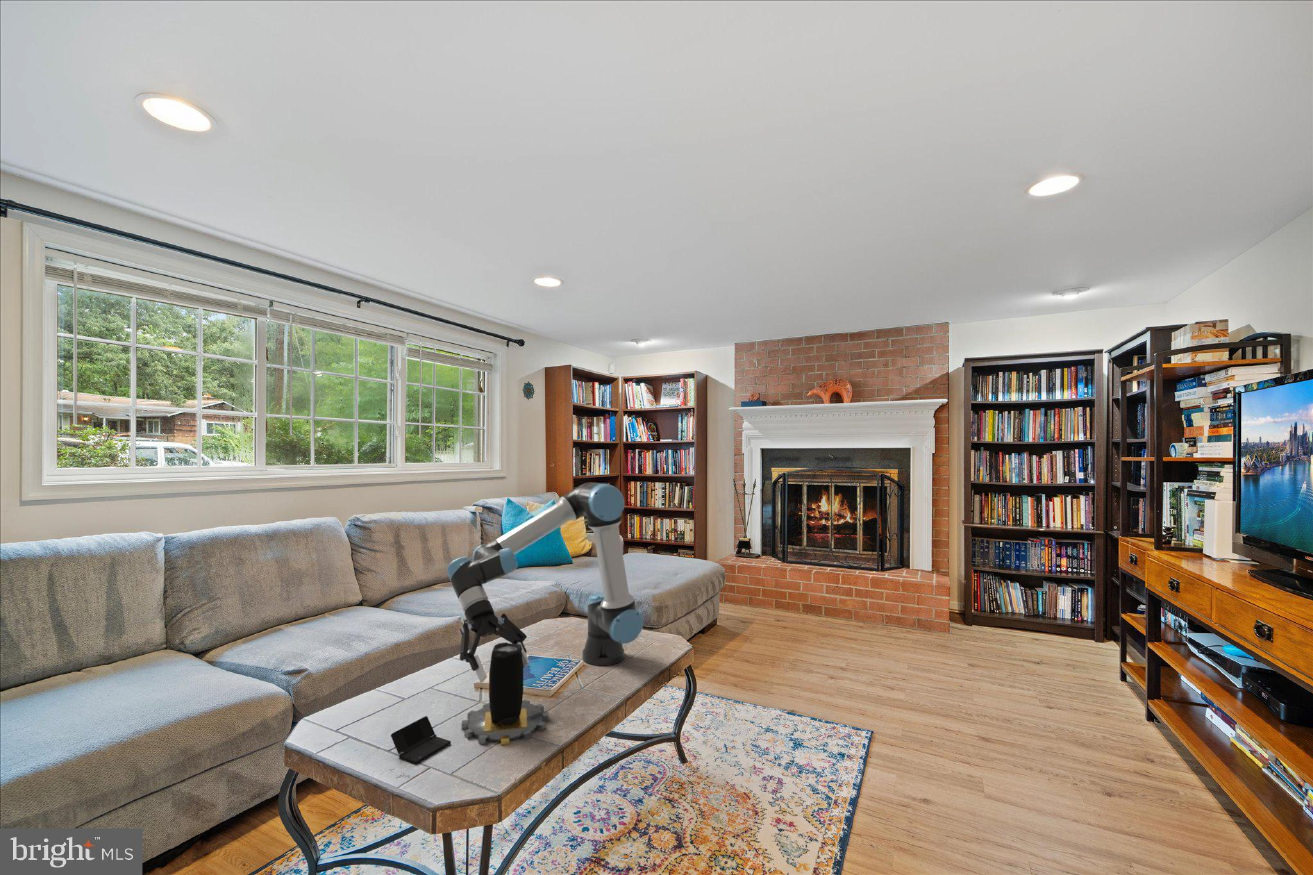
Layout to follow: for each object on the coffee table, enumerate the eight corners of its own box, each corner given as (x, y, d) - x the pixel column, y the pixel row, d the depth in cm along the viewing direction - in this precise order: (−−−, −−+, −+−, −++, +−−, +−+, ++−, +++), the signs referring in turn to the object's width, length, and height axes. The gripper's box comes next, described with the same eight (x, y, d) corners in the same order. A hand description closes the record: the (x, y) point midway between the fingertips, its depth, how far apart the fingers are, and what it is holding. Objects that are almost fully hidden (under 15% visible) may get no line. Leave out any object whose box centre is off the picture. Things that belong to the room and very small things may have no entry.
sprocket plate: (465, 708, 165) (465, 702, 165) (546, 701, 170) (546, 695, 170) (457, 749, 142) (457, 742, 142) (550, 739, 148) (550, 732, 148)
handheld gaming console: (424, 759, 135) (407, 720, 138) (402, 775, 136) (385, 735, 139) (455, 743, 146) (438, 707, 149) (434, 757, 147) (418, 721, 150)
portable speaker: (528, 713, 158) (529, 643, 158) (509, 729, 149) (511, 654, 150) (501, 709, 161) (503, 639, 161) (481, 724, 152) (483, 650, 152)
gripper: (507, 604, 176) (537, 666, 166) (430, 623, 157) (458, 693, 147) (518, 590, 172) (548, 652, 162) (440, 607, 154) (469, 678, 143)
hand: (505, 672), depth 155 cm, fingers open, 13 cm apart
